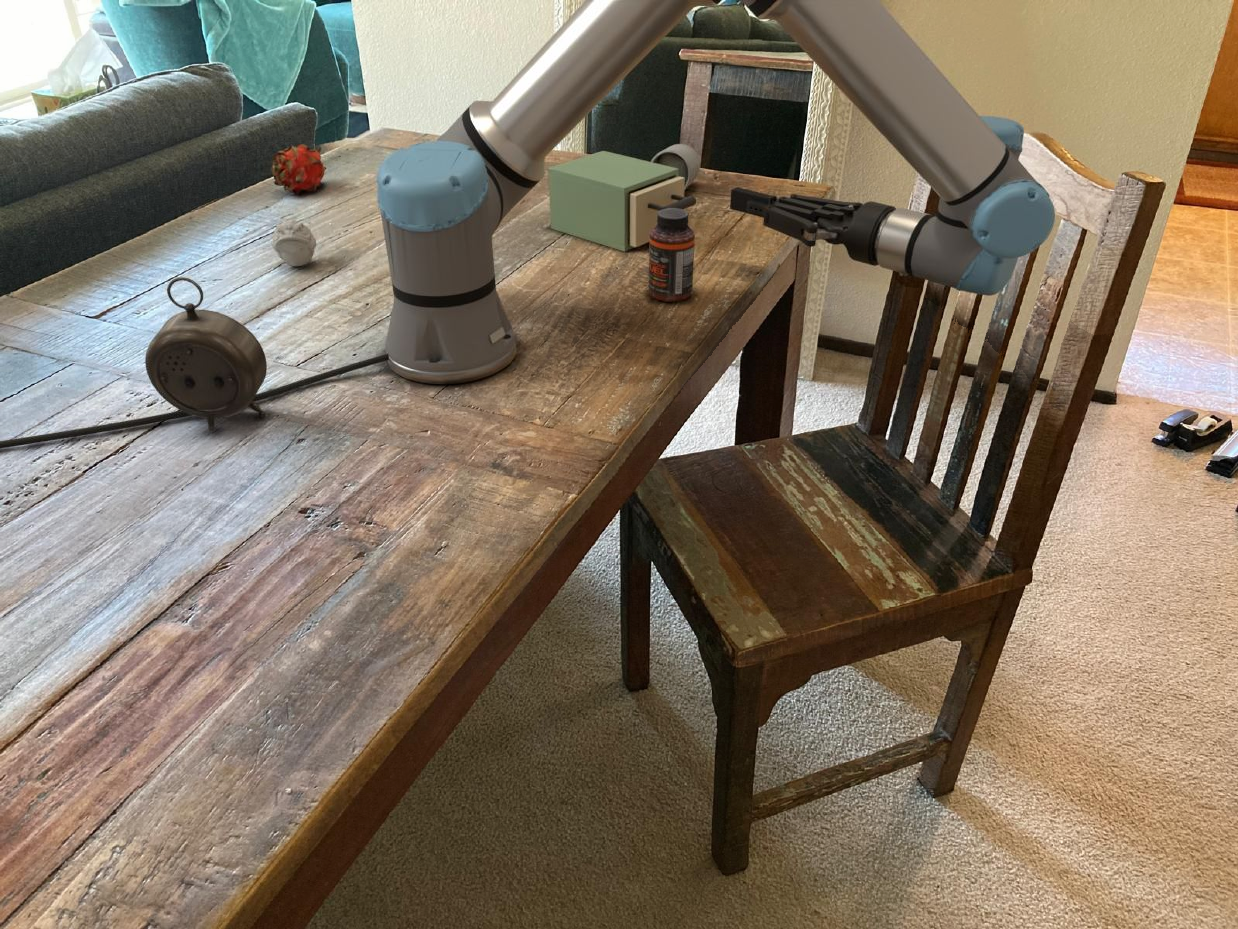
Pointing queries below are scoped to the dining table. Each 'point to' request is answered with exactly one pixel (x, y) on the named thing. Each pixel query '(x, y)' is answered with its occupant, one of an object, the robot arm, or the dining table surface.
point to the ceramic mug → (680, 161)
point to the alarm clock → (206, 363)
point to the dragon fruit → (297, 169)
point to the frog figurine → (293, 242)
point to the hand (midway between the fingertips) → (733, 197)
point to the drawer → (653, 206)
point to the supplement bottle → (671, 256)
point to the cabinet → (599, 195)
